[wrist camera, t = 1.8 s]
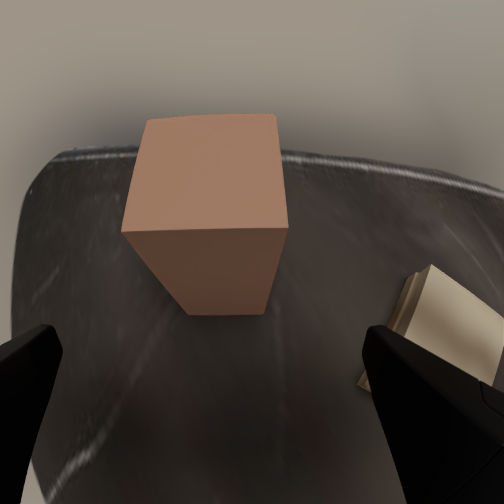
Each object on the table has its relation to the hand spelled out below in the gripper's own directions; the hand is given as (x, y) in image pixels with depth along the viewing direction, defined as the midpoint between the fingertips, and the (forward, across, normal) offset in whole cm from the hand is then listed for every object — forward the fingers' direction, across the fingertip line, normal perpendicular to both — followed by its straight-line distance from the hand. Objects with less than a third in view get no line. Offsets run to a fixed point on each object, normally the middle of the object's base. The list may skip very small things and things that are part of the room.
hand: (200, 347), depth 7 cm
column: (+12, 0, +4) cm, 13 cm away
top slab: (+6, -15, +8) cm, 18 cm away
